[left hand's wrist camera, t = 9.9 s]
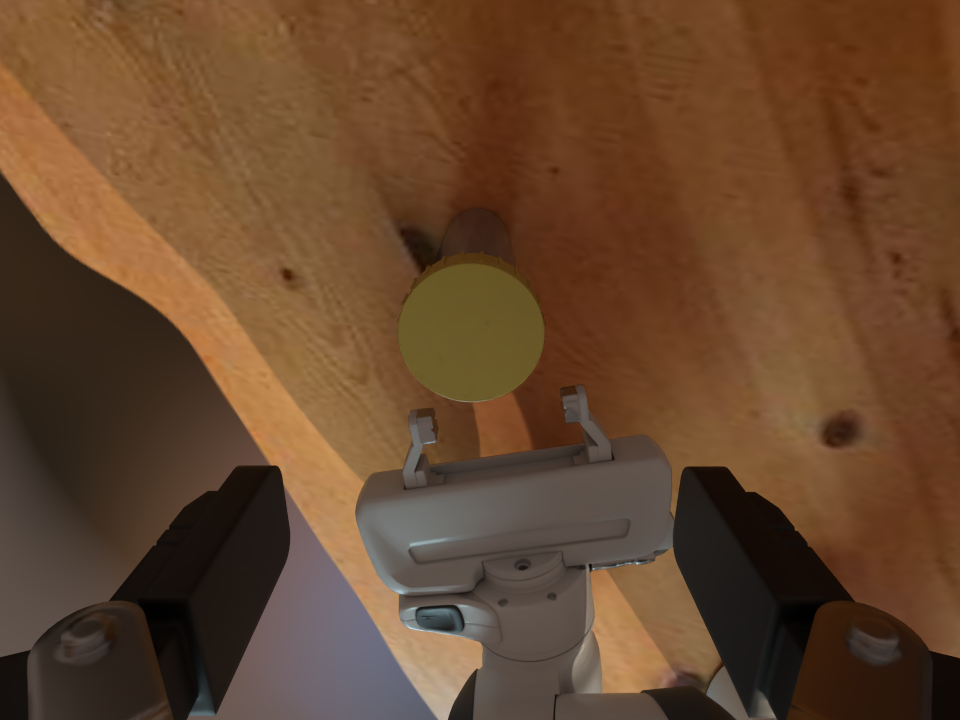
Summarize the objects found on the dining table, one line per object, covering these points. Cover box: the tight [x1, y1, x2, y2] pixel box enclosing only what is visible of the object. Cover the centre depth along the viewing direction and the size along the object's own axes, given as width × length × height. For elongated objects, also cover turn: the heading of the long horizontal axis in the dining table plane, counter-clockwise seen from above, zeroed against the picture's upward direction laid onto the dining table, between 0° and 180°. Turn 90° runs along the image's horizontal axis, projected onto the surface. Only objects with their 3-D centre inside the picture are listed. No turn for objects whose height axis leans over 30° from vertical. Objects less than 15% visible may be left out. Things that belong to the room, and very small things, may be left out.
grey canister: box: [433, 208, 516, 267], centre depth 29 cm, size 4×4×19 cm
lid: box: [397, 251, 546, 402], centre depth 21 cm, size 5×5×2 cm
